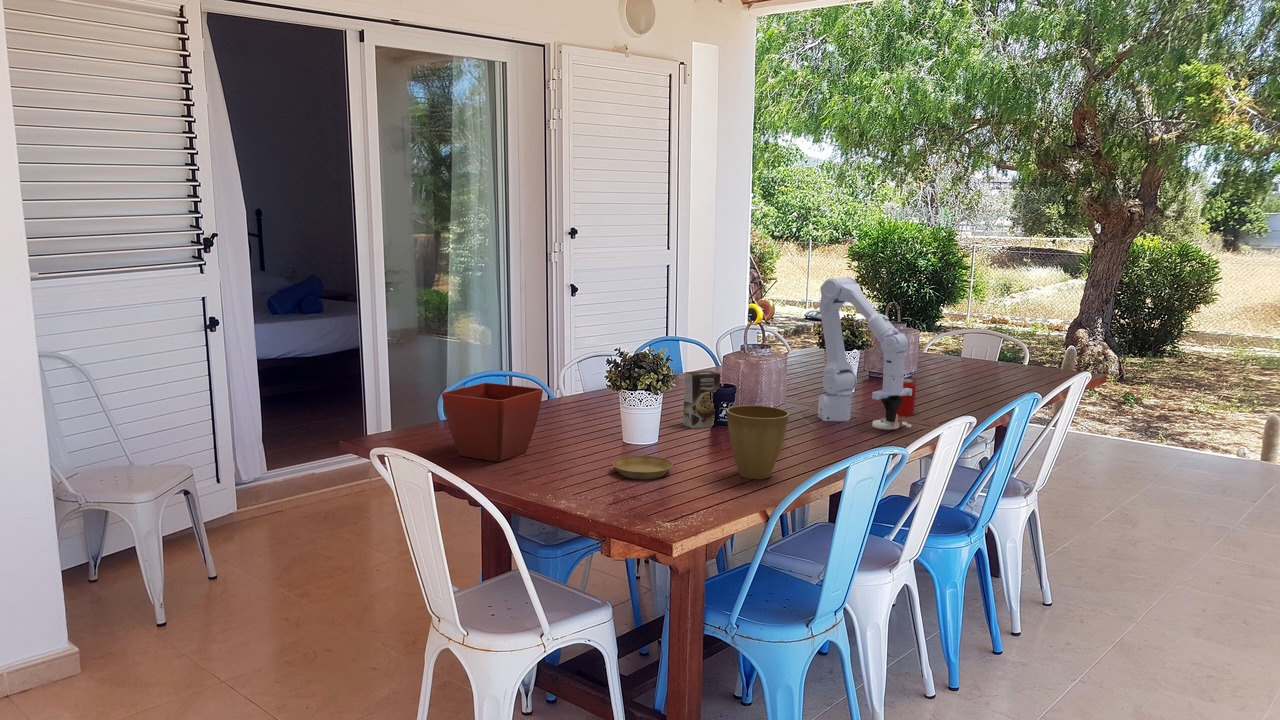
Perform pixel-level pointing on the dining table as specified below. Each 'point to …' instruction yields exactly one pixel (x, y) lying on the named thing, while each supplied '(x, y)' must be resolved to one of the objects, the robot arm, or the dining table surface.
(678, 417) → the dining table surface
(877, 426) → the white lever switch
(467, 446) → the plant pot
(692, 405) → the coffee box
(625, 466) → the plant saucer
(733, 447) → the plant pot
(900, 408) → the beverage can
